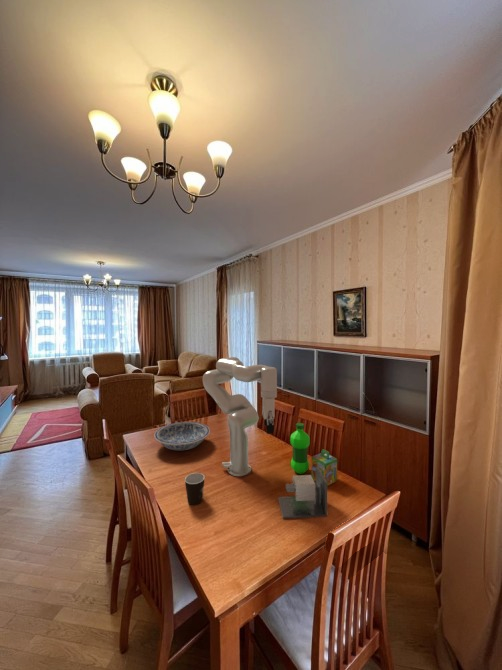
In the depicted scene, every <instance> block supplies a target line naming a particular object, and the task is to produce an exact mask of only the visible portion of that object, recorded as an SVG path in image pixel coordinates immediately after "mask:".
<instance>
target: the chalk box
mask: <svg viewBox="0 0 502 670" xmlns="http://www.w3.org/2000/svg"><path fill="white" fill-rule="evenodd" d="M316 467H319V469H320V471H321V473H322V474H323V476H324V478H325V480H326V481H327V487H329V486H330V485H332V484H334V483H336V482H337V481H338V458H336V457H335V456H333V455H331V454H330V451H328V450H326V449H323V448H322V449H321V452H320V453H318V454H315V455H312V456H311V471H310V472H311V474H310V475H311V476H312V478H313V480H314V482H316Z"/></svg>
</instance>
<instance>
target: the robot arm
mask: <svg viewBox="0 0 502 670" xmlns="http://www.w3.org/2000/svg"><path fill="white" fill-rule="evenodd" d="M215 368H216V369H211V370H207V371H206V372H205V373H204V374H203V375H202V385H203V388H204V389H205V391H206V392H207V393H208V394H209V395H210V396H211V398H212V399H213V400H214V401H215V403H216V404H217V406H218V407H219V408H220V410H221V411H222V413H223V414H225V415H228V418H227V423H228V429H229V450H230V451H229V452H230V454H229V455H230V458H229V461H226V462H225V461H224V462H223V461H222V462H221V466H222V467H223V468H224V469H227V472H228V474H229V475H231V476H234V477H244V476H247V475H249V474H250V473H251V472H252V466H251V465H250V464H249V436H248V434H247V432H246V429H247V428H249V427H252V426H255V425H256V424H257V423H258V422H259V418H260V417H259V414H258V411H257V409H255V406H253V404H252V403H251V402H250V401H249V399H248V398H247V397H246V396H245V395H243V394H240V393H236V394H233V395H232V394H230V393H229V392H228V391H227V389H226V388H224V386H222V385H221V384H225V383H229V382H230V381H231V380H232V379H233V378H234V379H235V380H237V381H238V382H243V383H252V382H257V381H260V398H262V406H261V408H262V411H261V412H262V413H261V415H262V418H263V420H264V422H263V423H264V426H266V434H267V435H269V434H272V435H273V434H274V433H275V428H274V426H275V425H274V420H275V413H276V412H275V411H276V409H275V405H276V404H275V401H276V400H275V398H276V399H277V397H278V390H277V389H278V370H277V368H276V367H273V366H268V365H265V364H254V365H246V366H245V365H244V363H243V362H242V361H241V359H239V358H238V357H237V356H230V357H223V358H220V359H219V360H217V362H216V363H215ZM219 384H220V385H219Z"/></svg>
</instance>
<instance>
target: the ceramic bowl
mask: <svg viewBox="0 0 502 670" xmlns="http://www.w3.org/2000/svg"><path fill="white" fill-rule="evenodd" d="M210 431H211V430H210V428H209V426H207V425H206V424H204V423H201V422H197V421H179V422H174V423H173V422H172V423H169V424H166V425H163V426H162V427H159V428H158V429H157V430H156V431H155V432H154V434H153V436H154V440H156V441H157V442H159V443H160V444H161V445H162V446H163V447H164V448H166V449H168V450H171V451H179V452H181V451H182V452H183V451H188V450H191V449H194V448H196V447H197V446H199V445H200V444H201V443H202V442H203V441H204V440H205V439H206V438H207V437H208V436H209V434H210Z"/></svg>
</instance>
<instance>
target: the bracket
mask: <svg viewBox="0 0 502 670" xmlns="http://www.w3.org/2000/svg"><path fill="white" fill-rule="evenodd" d="M285 490H286V493H293V492H296V489H295V486H294V484H293V483H285ZM277 500H278V503H279V507H280V513H281V516H282V519H283V520H286V519H287V520H288V519H307V518H309V519H310V518H326V517H328V486H327V481H326V480H325V478H324V476H323V474H322V473H321V471H320V469H319V467H316V481H315V500H310V501H296V495H294V496H278V498H277Z"/></svg>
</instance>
